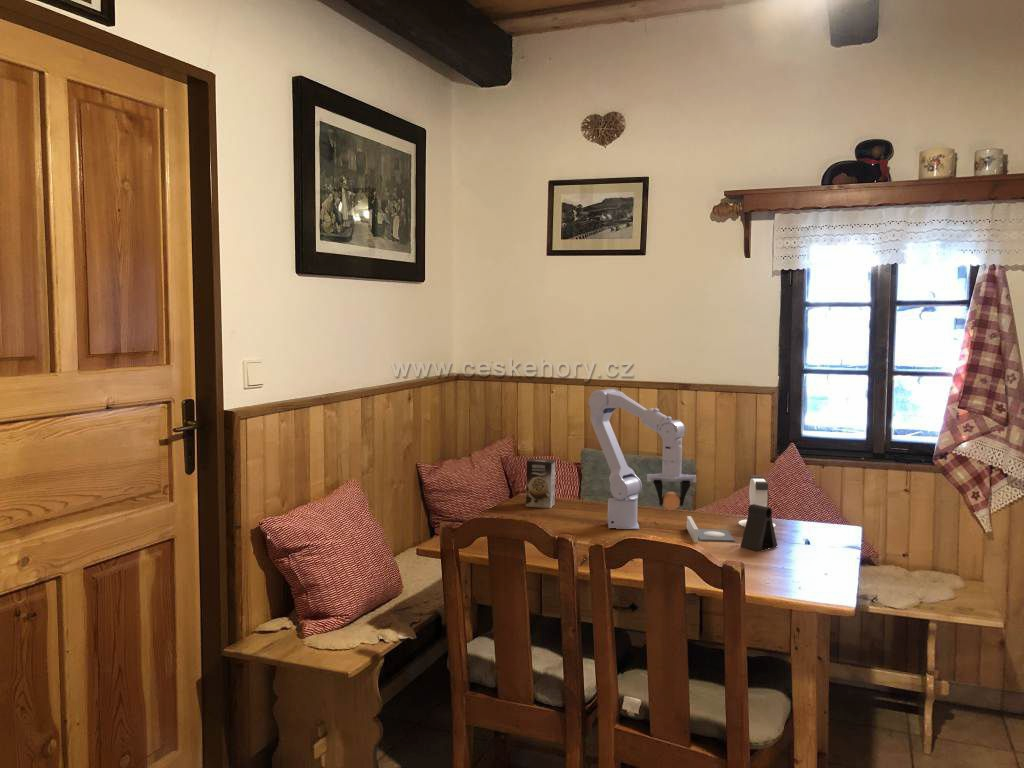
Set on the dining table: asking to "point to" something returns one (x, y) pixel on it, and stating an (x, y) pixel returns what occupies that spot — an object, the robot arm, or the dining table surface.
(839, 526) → the dining table surface
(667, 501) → the ball
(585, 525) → the dining table surface
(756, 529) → the phone stand
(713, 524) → the dining table surface
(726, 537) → the mat
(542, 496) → the coffee box
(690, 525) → the fence
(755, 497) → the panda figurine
